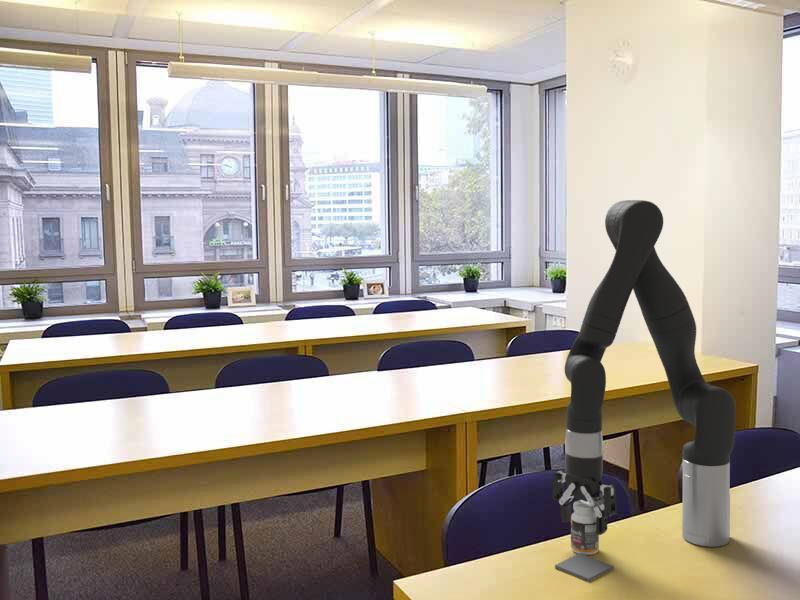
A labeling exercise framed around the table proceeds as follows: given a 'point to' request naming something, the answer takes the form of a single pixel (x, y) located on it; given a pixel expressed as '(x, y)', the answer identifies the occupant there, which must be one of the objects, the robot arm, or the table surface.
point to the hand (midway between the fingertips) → (583, 527)
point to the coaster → (584, 567)
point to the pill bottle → (584, 529)
